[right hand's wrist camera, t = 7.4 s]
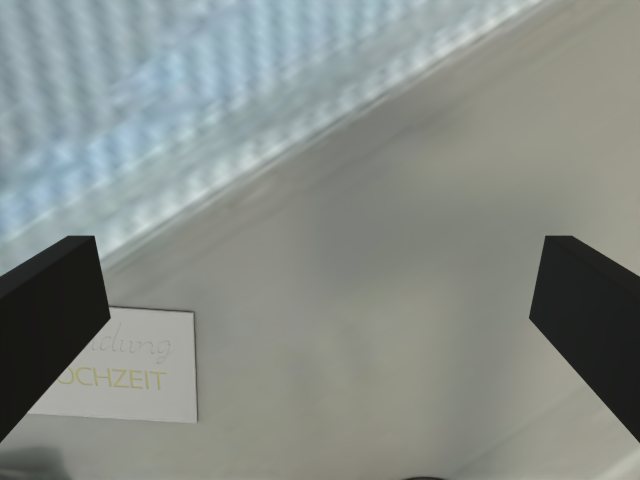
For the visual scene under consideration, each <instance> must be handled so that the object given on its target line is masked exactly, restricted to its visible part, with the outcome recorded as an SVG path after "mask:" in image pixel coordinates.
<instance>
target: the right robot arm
mask: <svg viewBox="0 0 640 480" xmlns="http://www.w3.org/2000/svg"><path fill="white" fill-rule="evenodd" d="M110 319H111V315H110V310H109V305H108V300H107V295H106V291H105V286H104V281H103V276H102V271H101V266H100V261H99V256H98V251H97V246H96V241H95V236H67V237H65V238H63V239H62V240H60V241H59V242H57V243H55V244H54V245H52V246H50V247H49V248H47V249H45V250H44V251H42V252H40V253H39V254H37V255H35V256H34V257H32V258H30V259H29V260H27V261H26V262H24V263H22V264H21V265H19V266H17V267H16V268H14V269H12V270H11V271H9V272H7V273H6V274H4V275H2V276H1V277H0V443H1V442H2V440H3V439H4V438H5V437H6V436H7V435H8V434H9V433H10V431H11V430H12V429H13V428H14V427H15V426H16V425H17V424H18V422H19V421H20V420H21V419H22V418H23V417H24V416H25V415H26V413H27V412H28V411H29V410H30V409H31V408H32V407H33V405H34V404H35V403H36V402H37V401H38V400H39V399H40V398H41V396H42V395H43V394H44V393H45V392H46V391H47V390H48V389H49V387H50V386H51V385H52V384H53V383H54V382H55V381H56V380H57V378H58V377H59V376H60V375H61V374H62V373H63V372H64V371H65V369H66V368H67V367H68V366H69V365H70V364H71V363H72V362H73V360H74V359H75V358H76V357H77V356H78V355H79V354H80V353H81V351H82V350H83V349H84V348H85V347H86V346H87V345H88V344H89V342H90V341H91V340H92V339H93V338H94V337H95V336H96V335H97V333H98V332H99V331H100V330H101V329H102V328H103V327H104V326H105V324H106V323H107V322H108V321H109V320H110ZM529 319H530V320H531V321H532V322H533V323H534V324H535V326H536V327H537V328H538V329H539V330H540V331H541V332H542V333H543V335H544V336H545V337H546V338H547V339H548V340H549V341H550V342H551V344H552V345H553V346H554V347H555V348H556V349H557V350H558V351H559V353H560V354H561V355H562V356H563V357H564V358H565V359H566V360H567V362H568V363H569V364H570V365H571V366H572V367H573V368H574V369H575V371H576V372H577V373H578V374H579V375H580V376H581V377H582V378H583V380H584V381H585V382H586V383H587V384H588V385H589V386H590V387H591V389H592V390H593V391H594V392H595V393H596V394H597V395H598V396H599V398H600V399H601V400H602V401H603V402H604V403H605V404H606V405H607V407H608V408H609V409H610V410H611V411H612V412H613V413H614V415H615V416H616V417H617V418H618V419H619V420H620V421H621V422H622V424H623V425H624V426H625V427H626V428H627V429H628V430H629V431H630V433H631V434H632V435H633V436H634V437H635V438H636V439H637V440H638V442H639V443H640V277H639V276H638V275H636V274H634V273H633V272H631V271H629V270H628V269H626V268H624V267H623V266H621V265H619V264H618V263H616V262H614V261H613V260H611V259H610V258H608V257H606V256H605V255H603V254H601V253H600V252H598V251H596V250H595V249H593V248H591V247H590V246H588V245H586V244H585V243H583V242H581V241H580V240H578V239H577V238H575V237H573V236H545V241H544V246H543V251H542V256H541V261H540V266H539V271H538V276H537V281H536V286H535V290H534V295H533V300H532V305H531V310H530V315H529ZM412 480H438V479H427V478H423V479H412Z"/></svg>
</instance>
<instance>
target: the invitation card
mask: <svg viewBox="0 0 640 480" xmlns="http://www.w3.org/2000/svg"><path fill="white" fill-rule="evenodd" d="M109 310H110V315H111V319H110V320H109V321H108V322H107V323H106V324H105V326H104V327H103V328H102V329H101V330H100V331H99V332H98V333H97V335H96V336H95V337H94V338H93V339H92V340H91V341H90V342H89V344H88V345H87V346H86V347H85V348H84V349H83V350H82V351H81V353H80V354H79V355H78V356H77V357H76V358H75V359H74V360H73V362H72V363H71V364H70V365H69V366H68V367H67V368H66V369H65V371H64V372H63V373H62V374H61V375H60V376H59V377H58V378H57V380H56V381H55V382H54V383H53V384H52V385H51V386H50V387H49V389H48V390H47V391H46V392H45V393H44V394H43V395H42V396H41V398H40V399H39V400H38V401H37V402H36V403H35V404H34V405H33V407H32V408H31V409H30V410H29V411H28V412H27V413H30V414H47V415H64V416H81V417H98V418H115V419H132V420H149V421H166V422H183V423H197V393H196V365H195V336H194V312H179V311H164V310H148V309H133V308H118V307H109Z"/></svg>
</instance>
